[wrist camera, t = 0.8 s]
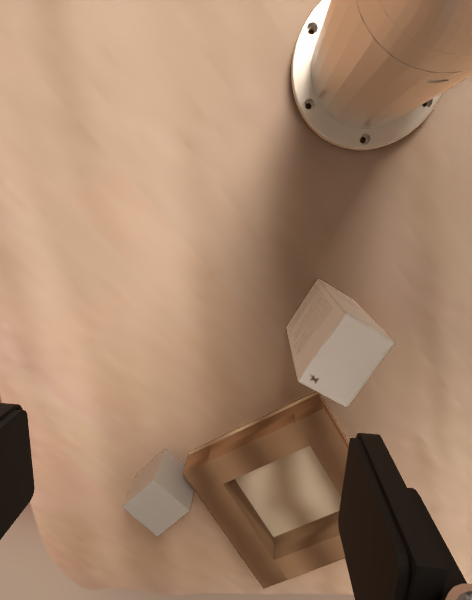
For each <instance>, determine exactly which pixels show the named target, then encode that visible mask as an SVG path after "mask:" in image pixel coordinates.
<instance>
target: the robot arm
mask: <svg viewBox="0 0 472 600" xmlns="http://www.w3.org/2000/svg"><path fill="white" fill-rule="evenodd" d="M309 30H313V31H314V34H313V35H311V34H309V33H308V31H309ZM471 75H472V0H320V2H319V3H318V4H317V5H316V6H315V8H314V9H313V10H312V11H311V12H310V14H309V16H308V17H307V19H306V21H305V23H304V24H303V26H302V28H301V30H300V33H299V36H298V38H297V41H296V44H295V48H294V52H293V58H292V66H291V82H292V90H293V94H294V98H295V102H296V105H297V107H298V109H299V111H300V114H301V116H302V117H303V119H304V120H305V121H306V123H307V124H308V126H309V127H310V128H311V129H312V130H313V131H314V132H315V133H316V134H317V135H318V136H319V137H321V138H323V139H324V140H326V141H327V142H329V143H331V144H333V145H336V146H339V147H341V148H344V149H351V150H372V149H376V148H380V147H383V146H387V145H389V144H391V143H394V142H396V141H398V140H400V139H401V138H403V137H405V136H406V135H408V134H410V133H411V132H412V131H413V130H414V129H416V128H417V127H418V126H419V125H420V124H421V123H422V122H423V121H424V120H425V119H426V118H427V116H428V115H429V114H430V113H431V112H432V110H433V109H434V107H435V105H436V104H437V102H438V100H439V99H440V97H441V95H442V92H444V91H445V90H447V89H449V88H451V87H452V86H454V85H456V84H457V83H459V82H461V81H462V80H464V79H466V78H467V77H469V76H471ZM424 103H425V107H423V106H422V104H424ZM306 104H310V105H311V108H310V109H306V108H305V105H306ZM360 138H364V139H365V142H364V143H361V142H360ZM33 493H34V478H33V468H32V458H31V448H30V438H29V428H28V418H27V413H26V411H24V410H22V407H21V406H20V405H18V404H6V403H0V539H1V538H2V537H3V536H4V534H5V533H6V532H7V530H8V529H9V528H10V527H11V525H12V524H13V523H14V521H15V520H16V519H17V517H18V516H19V515H20V514H21V512H22V511H23V510H24V508H25V507H26V506H27V505H28V503H29V502H30V500H31V498H32V496H33ZM338 527H339V533H340V537H341V542H342V546H343V550H344V554H345V559H346V563H347V567H348V571H349V576H350V580H351V584H352V588H353V592H354V597H355V600H472V584H467V582H466V581H465V579H464V577H463V575H462V573H461V571H460V570H459V568H458V566H457V564H456V562H455V560H454V558H453V557H452V555H451V553H450V551H449V549H448V547H447V545H446V544H445V542H444V540H443V538H442V536H441V534H440V532H439V531H438V529H437V527H436V525H435V523H434V521H433V520H432V518H431V516H430V514H429V512H428V510H427V508H426V507H425V505H424V503H423V501H422V499H421V497H420V495H419V494H418V493H417V491H416V490H415V489H413V488H407V487H406V485H405V483H404V481H403V479H402V477H401V475H400V473H399V471H398V469H397V467H396V465H395V463H394V461H393V459H392V458H391V456H390V454H389V452H388V450H387V448H386V446H385V444H384V442H383V440H382V438H381V436H380V435H377V434H365V433H358V434H357V436H356V438H350V441H349V447H348V454H347V461H346V468H345V474H344V481H343V488H342V495H341V502H340V508H339V515H338Z"/></svg>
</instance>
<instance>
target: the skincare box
mask: <svg viewBox="0 0 472 600" xmlns="http://www.w3.org/2000/svg"><path fill="white" fill-rule="evenodd" d="M286 330H287V335H288V339H289V344H290V348H291V353H292V357H293V362H294V367H295V371H296V376H297V381H298V382H299V383H301V384H303V385H305V386H307V387H309V388H310V389H312V390H314V391H316V392H318V393H320V394H322V395H324V396H325V397H327V398H329V399H331V400H333V401H335V402H337V403H338V404H340V405H342V406H344V407H346V408H347V407H348V406H349V404H350V403H351V402H352V401H353V399H354V398H355V396H356V395H357V394H358V392H359V391H360V390H361V388H362V387H363V386H364V384H365V383H366V382H367V380H368V379H369V377H370V376H371V375H372V373H373V372H374V370H375V369H376V368H377V366H378V365H379V364H380V362H381V361H382V359H383V358H384V357H385V355H386V354H387V353H388V351H389V350H390V349H391V347H392V346H393V345H394V344H395V341H394V340H393V339H392V338H391V337H390V336H389V335H388V334H387V333H386V332H385V331H384V330H383V329H382V328H381V327H380V326H379V325H378V324H377V323H376V322H375V321H374V320H373V319H372V318H371V317H370V316H369V315H368V314H367V313H366V312H365V311H364V310H363V309H362V308H361V307H360V306H359V305H358V304H357V303H356V302H355V301H354V300H353V299H352V298H350V297H348V296H347V295H345V294H344V293H342V292H340V291H339V290H337V289H335V288H334V287H332V286H331V285H329V284H327V283H326V282H324V281H322V280H320V279H317V281H316V282H315V284H314V285H313V287H312V288H311V290H310V291H309V293H308V294H307V296H306V297H305V299H304V300H303V302H302V303H301V305H300V307H299V308H298V310H297V311H296V313H295V314H294V316H293V317H292V319H291V320H290V322H289V323H288V325H287V326H286Z"/></svg>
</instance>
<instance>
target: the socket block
mask: <svg viewBox="0 0 472 600" xmlns="http://www.w3.org/2000/svg"><path fill="white" fill-rule="evenodd" d="M348 447H349V443H348V442H347V440H346V438H345V436H344V435H343V433H342V431H341V429H340V428H339V426H338V424H337V423H336V421H335V419H334V417H333V416H332V414H331V412H330V410H329V409H328V407H327V405H326V404H325V402H324V400H323V398H322V397H321V395H320V393H318V392H315V393H313V394H310V395H308V396H306V397H304V398H302V399H300V400H298V401H296V402H294V403H291V404H289V405H287V406H285V407H283V408H281V409H279V410H277V411H274V412H272V413H270V414H268V415H266V416H264V417H262V418H260V419H258V420H255V421H253V422H251V423H249V424H247V425H245V426H243V427H241V428H238V429H236V430H234V431H232V432H230V433H228V434H226V435H224V436H222V437H219V438H217V439H215V440H213V441H211V442H209V443H207V444H205V445H203V446H200V447H198V448H196V449H194V450H192V451H190V452H189V455H188V459H187V462H186V466H185V469H184V472H183V474H184V475H185V477H186V478H187V480H188V481H189V482H190V484H191V485H192V487H193V488H194V490H195V491H196V493H197V494H198V495H199V497H200V498H201V500H202V501H203V503H204V504H205V505H206V507H207V508H208V510H209V511H210V513H211V514H212V515H213V517H214V518H215V520H216V521H217V523H218V524H219V525H220V527H221V528H222V530H223V531H224V533H225V534H226V535H227V537H228V538H229V540H230V541H231V543H232V544H233V546H234V547H235V548H236V550H237V551H238V553H239V554H240V556H241V557H242V558H243V560H244V561H245V563H246V564H247V566H248V567H249V568H250V570H251V571H252V573H253V574H254V576H255V577H256V578H257V580H258V581H259V583H260V584H261V586H262V587H263V589H264V588H267V587H269V586H272V585H275V584H277V583H280V582H283V581H285V580H288V579H291V578H293V577H296V576H299V575H301V574H304V573H306V572H309V571H312V570H314V569H317V568H320V567H322V566H325V565H328V564H330V563H333V562H336V561H338V560H341V559H344V558H345V554H344V550H343V546H342V542H341V537H340V533H339V527H338V515H339V508H340V502H341V495H342V488H343V481H344V474H345V468H346V461H347V454H348Z"/></svg>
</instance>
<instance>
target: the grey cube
mask: <svg viewBox="0 0 472 600" xmlns="http://www.w3.org/2000/svg"><path fill="white" fill-rule="evenodd" d="M184 469H185V465H184V464H183V463H182V462H181V461H179V460H178V459H177V458H176V457H175V456H174V455H173V454H171V453H170V452H169V451H168V450H167V449H165V450H164V451H162V452H161V453H160V454H159V455H158V456H157V457H156V458H154V459H153V460H152V461H151V462H150V463H149V464H148V465H147V466H145V467H144V468H143V469H142V470H141V471H140V472H139V473H138V474H137V475H136V478H135V480H134V482H133V484H132V486H131V488H130V491H129V493H128V495H127V497H126V499H125V501H124V504H123V506H122V508H124V509H125V510H126V511H127V512H128V513H130V514H131V515H132V516H133V517H134V518H136V519H137V520H138V521H139V522H140V523H142V524H143V525H144V526H145V527H146V528H148V529H149V530H150V531H151V532H152V533H154V534H155V535H156V536H157V537H158V536H159V535H160V534H162V533H163V532H164V531H165V530H166V529H168V528H169V527H170V526H171V525H173V524H174V523H175V522H176V521H178V520H179V519H180V518H181V517H183V516H184V515H185V514H186V513H187V512H189V511H190V507H191V503H192V499H193V495H194V488H193V487H192V485H191V484H190V482H189V481H188V480H187V478H186V477H185V475H184V474H183V472H184Z"/></svg>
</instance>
